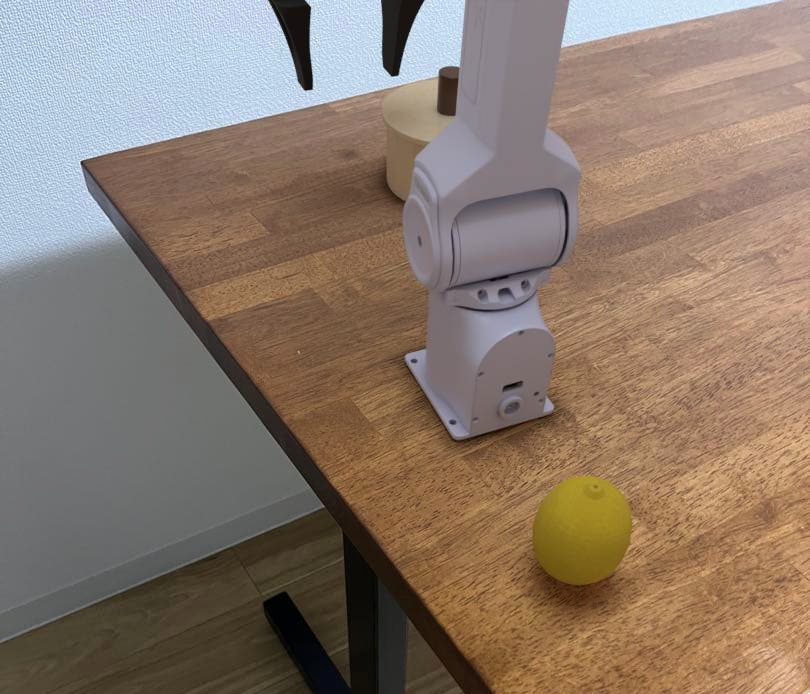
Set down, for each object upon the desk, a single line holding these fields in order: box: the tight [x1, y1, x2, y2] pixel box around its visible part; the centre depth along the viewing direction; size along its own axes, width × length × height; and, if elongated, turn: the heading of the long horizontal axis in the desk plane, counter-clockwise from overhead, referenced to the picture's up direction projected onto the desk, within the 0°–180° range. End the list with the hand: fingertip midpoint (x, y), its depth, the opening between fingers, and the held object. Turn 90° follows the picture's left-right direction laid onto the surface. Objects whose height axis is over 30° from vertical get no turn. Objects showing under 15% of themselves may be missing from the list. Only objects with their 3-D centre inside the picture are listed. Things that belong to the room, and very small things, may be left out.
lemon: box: [531, 475, 633, 586], centre depth 47 cm, size 6×6×8 cm
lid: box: [380, 65, 460, 146], centre depth 72 cm, size 12×12×4 cm
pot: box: [386, 127, 426, 202], centre depth 75 cm, size 11×11×6 cm
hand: (348, 78), depth 68 cm, fingers open, 7 cm apart
